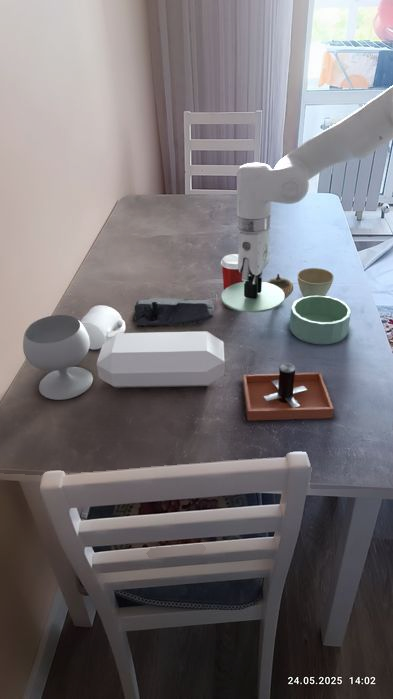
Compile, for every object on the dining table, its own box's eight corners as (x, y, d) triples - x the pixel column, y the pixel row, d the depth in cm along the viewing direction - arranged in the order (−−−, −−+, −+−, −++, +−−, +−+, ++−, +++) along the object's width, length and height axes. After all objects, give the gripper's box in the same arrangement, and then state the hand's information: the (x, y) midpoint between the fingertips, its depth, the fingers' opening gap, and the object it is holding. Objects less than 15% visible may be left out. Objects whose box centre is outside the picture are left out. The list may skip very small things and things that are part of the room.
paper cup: (251, 300, 140) (253, 255, 132) (242, 312, 135) (243, 266, 127) (226, 295, 143) (226, 251, 135) (216, 307, 138) (215, 262, 130)
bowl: (339, 314, 132) (342, 294, 129) (354, 343, 120) (357, 322, 117) (286, 315, 132) (287, 296, 129) (295, 345, 120) (297, 324, 117)
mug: (75, 347, 123) (69, 320, 119) (91, 328, 131) (86, 302, 126) (119, 352, 120) (114, 325, 116) (132, 333, 128) (128, 306, 123)
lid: (279, 283, 126) (280, 261, 123) (289, 313, 113) (290, 289, 110) (220, 286, 127) (219, 264, 123) (222, 316, 114) (222, 293, 110)
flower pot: (293, 290, 145) (295, 268, 141) (327, 289, 144) (330, 267, 140) (297, 306, 136) (300, 283, 132) (333, 306, 136) (336, 283, 132)
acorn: (290, 299, 140) (293, 267, 134) (292, 313, 133) (295, 280, 128) (262, 298, 141) (263, 267, 135) (262, 313, 134) (264, 280, 128)
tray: (319, 381, 108) (320, 372, 107) (332, 418, 98) (333, 408, 97) (242, 383, 108) (243, 374, 107) (247, 420, 98) (248, 411, 97)
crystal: (224, 359, 100) (91, 362, 101) (225, 395, 105) (98, 397, 106) (223, 323, 112) (103, 326, 113) (223, 357, 117) (109, 359, 118)
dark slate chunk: (213, 329, 128) (212, 313, 125) (131, 328, 130) (129, 313, 127) (215, 301, 141) (215, 286, 138) (140, 301, 142) (139, 287, 140)
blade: (303, 383, 107) (306, 354, 102) (311, 412, 99) (315, 381, 94) (260, 384, 107) (261, 355, 103) (265, 413, 99) (267, 383, 95)
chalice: (29, 406, 105) (12, 349, 96) (41, 368, 116) (26, 314, 108) (94, 401, 105) (82, 344, 97) (99, 363, 117) (89, 309, 108)
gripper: (258, 236, 102) (256, 312, 112) (280, 212, 113) (277, 282, 124) (225, 232, 104) (226, 307, 115) (250, 209, 116) (249, 278, 127)
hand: (252, 293), depth 119 cm, fingers closed on lid, 2 cm apart
